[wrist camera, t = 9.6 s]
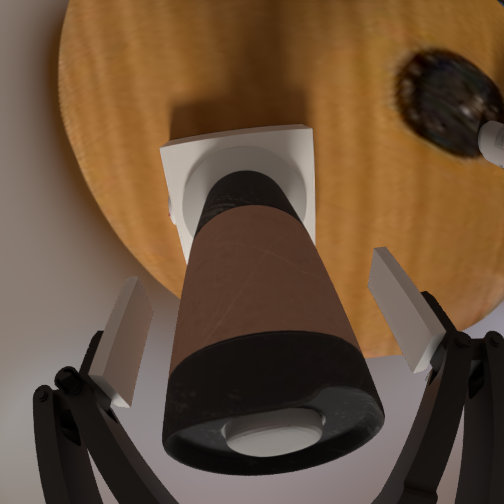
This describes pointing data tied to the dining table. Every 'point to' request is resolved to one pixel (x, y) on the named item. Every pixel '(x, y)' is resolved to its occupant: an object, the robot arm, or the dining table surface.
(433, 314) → the robot arm
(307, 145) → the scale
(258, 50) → the dining table surface
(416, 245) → the dining table surface
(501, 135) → the energy drink can
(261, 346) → the travel mug
